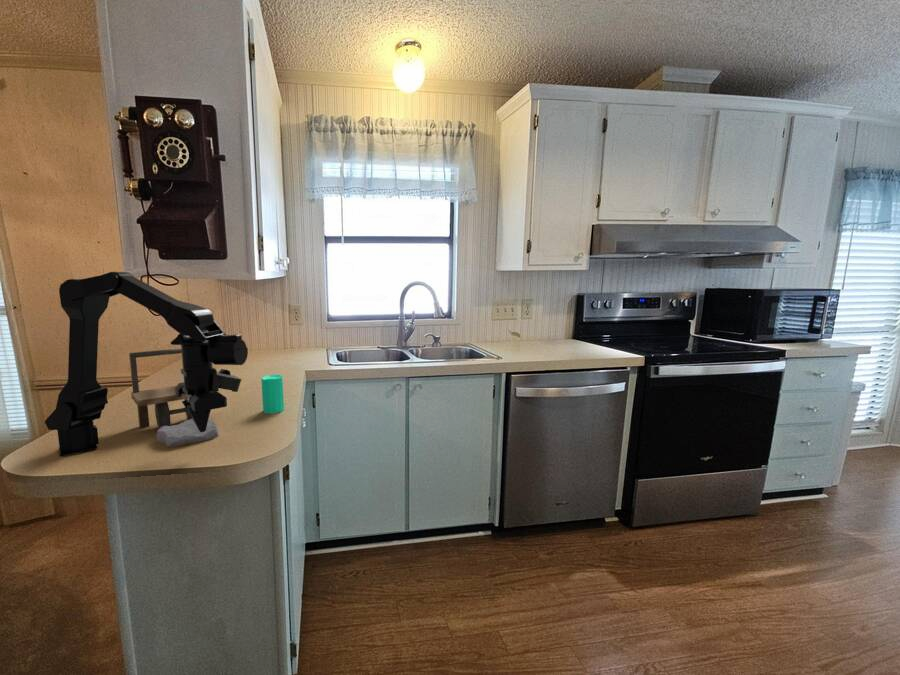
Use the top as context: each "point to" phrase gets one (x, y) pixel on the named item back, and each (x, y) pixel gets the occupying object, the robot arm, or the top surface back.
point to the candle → (272, 393)
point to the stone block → (185, 433)
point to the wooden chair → (154, 394)
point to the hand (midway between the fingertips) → (202, 431)
